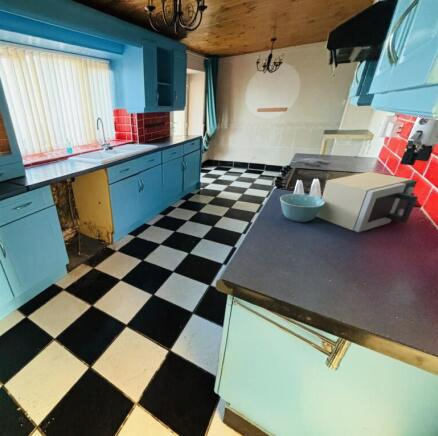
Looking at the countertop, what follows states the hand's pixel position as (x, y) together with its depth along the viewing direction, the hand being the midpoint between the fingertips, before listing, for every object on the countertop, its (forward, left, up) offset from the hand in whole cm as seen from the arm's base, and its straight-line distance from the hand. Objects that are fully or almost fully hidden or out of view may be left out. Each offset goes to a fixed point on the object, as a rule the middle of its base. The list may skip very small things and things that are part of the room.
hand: (414, 162), depth 79 cm
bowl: (+21, +21, -25) cm, 38 cm away
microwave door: (0, +4, -24) cm, 25 cm away
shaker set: (+34, -1, -25) cm, 42 cm away
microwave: (+9, 0, -24) cm, 26 cm away
